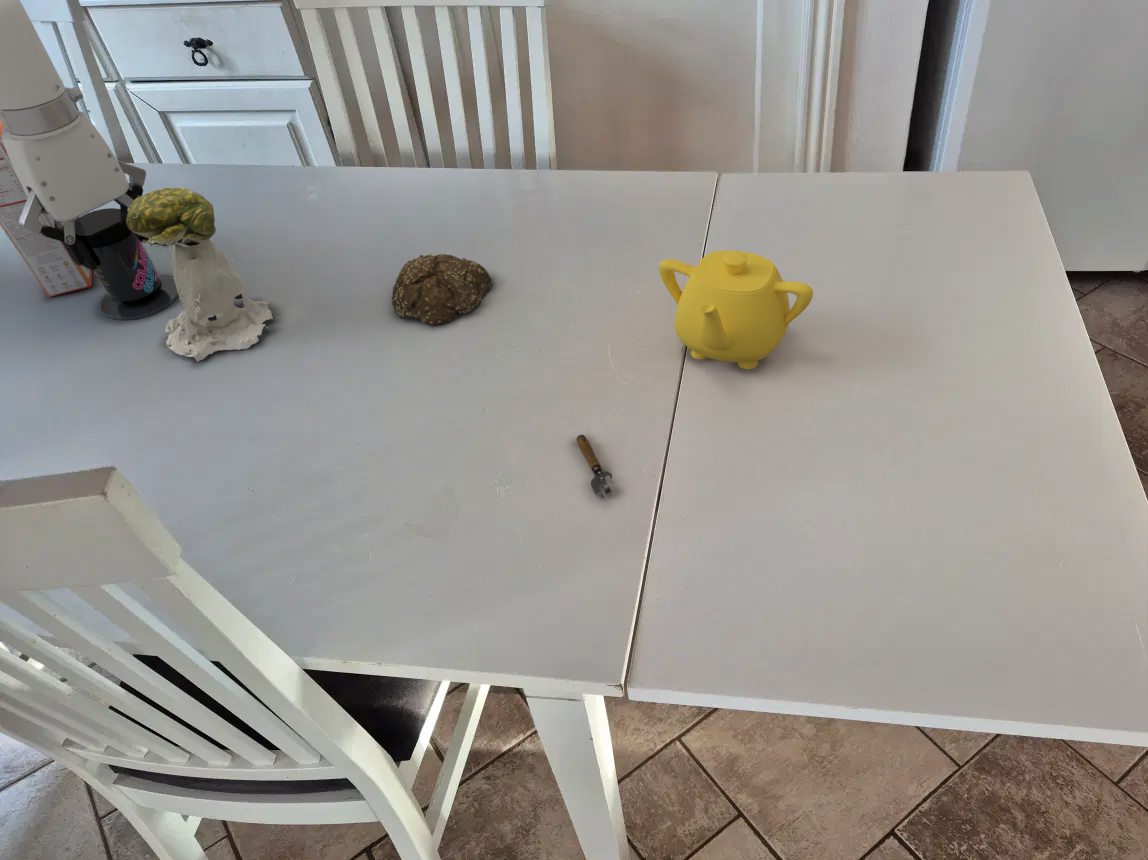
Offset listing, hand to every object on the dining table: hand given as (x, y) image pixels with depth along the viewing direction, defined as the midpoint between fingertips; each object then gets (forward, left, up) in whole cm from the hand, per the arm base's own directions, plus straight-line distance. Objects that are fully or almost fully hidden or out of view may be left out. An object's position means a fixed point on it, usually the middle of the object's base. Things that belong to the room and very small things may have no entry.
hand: (115, 252), depth 108 cm
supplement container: (0, 0, -6) cm, 6 cm away
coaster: (0, 0, -7) cm, 7 cm away
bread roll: (+21, -35, -7) cm, 42 cm away
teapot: (+30, -73, -7) cm, 79 cm away
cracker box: (-1, +16, -7) cm, 17 cm away
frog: (+1, -16, -7) cm, 18 cm away
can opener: (+6, -71, -7) cm, 72 cm away
